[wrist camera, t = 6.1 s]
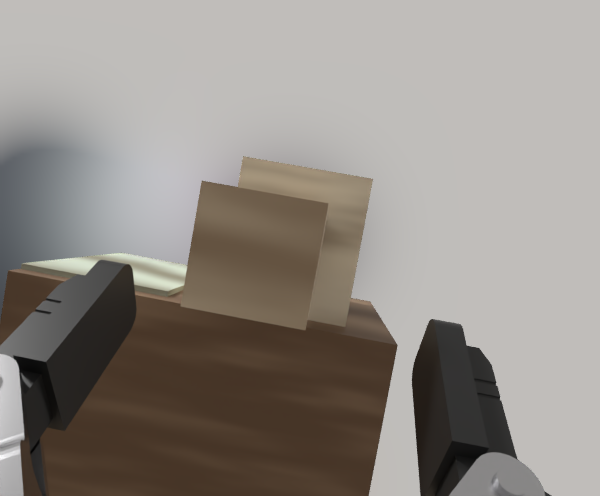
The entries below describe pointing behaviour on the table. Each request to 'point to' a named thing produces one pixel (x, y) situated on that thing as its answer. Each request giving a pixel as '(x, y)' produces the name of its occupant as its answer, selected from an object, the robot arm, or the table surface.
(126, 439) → the tall wood-grain block
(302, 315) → the wooden mallet
